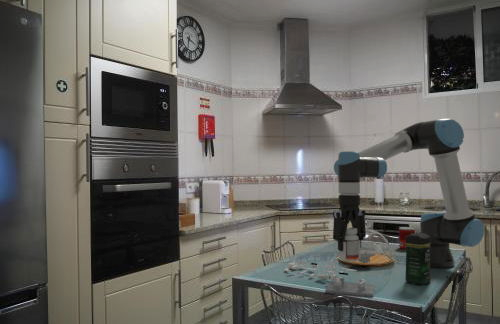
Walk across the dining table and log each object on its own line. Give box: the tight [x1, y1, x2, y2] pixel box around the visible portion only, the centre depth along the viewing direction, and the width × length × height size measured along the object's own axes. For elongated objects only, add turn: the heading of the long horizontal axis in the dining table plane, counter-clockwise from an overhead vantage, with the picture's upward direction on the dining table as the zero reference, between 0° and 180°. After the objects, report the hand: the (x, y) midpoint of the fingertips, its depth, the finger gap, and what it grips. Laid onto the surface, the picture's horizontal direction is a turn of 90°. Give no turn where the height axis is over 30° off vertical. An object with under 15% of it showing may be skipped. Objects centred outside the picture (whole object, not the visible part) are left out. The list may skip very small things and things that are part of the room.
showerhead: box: [358, 248, 376, 264], centre depth 179 cm, size 9×7×10 cm
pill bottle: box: [344, 226, 359, 262], centre depth 144 cm, size 6×6×11 cm
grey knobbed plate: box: [325, 276, 376, 298], centre depth 144 cm, size 16×12×4 cm
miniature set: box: [283, 258, 358, 281], centre depth 164 cm, size 6×35×12 cm
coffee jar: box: [405, 232, 432, 285], centre depth 153 cm, size 10×8×19 cm
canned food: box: [398, 226, 416, 251], centre depth 217 cm, size 8×8×11 cm
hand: (349, 258), depth 144 cm, fingers closed on pill bottle, 6 cm apart
